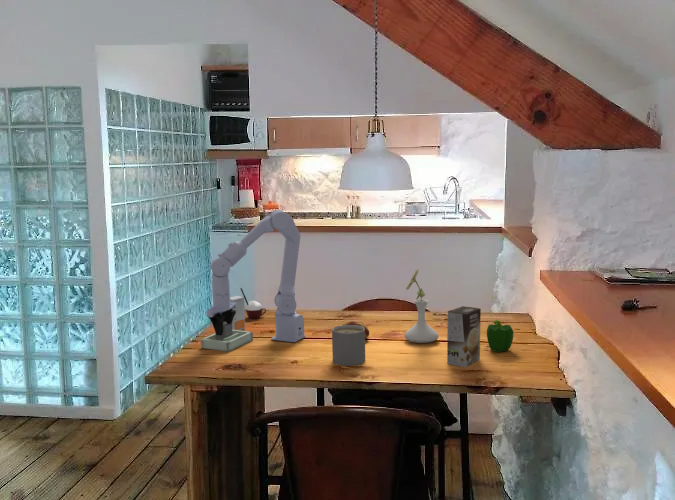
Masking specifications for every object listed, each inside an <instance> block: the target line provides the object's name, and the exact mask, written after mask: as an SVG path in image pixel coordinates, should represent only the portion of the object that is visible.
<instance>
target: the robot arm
mask: <svg viewBox="0 0 675 500" xmlns="http://www.w3.org/2000/svg"><path fill="white" fill-rule="evenodd" d="M274 229H275V230H277V231H278V232H280V234H281V235H282V236H283V238H284V239H285V241H284V242H285V243H284V250H283V257H282V267H281V273H280V274H281V275H280V283H279V286H278V289H277V293H276V295H275V296H274V300H273V301H274V302H273V303H274V305H275V306H276V310H275V311H274V317H275V318H274V319H275V321H274V323H275V325H274V326H275V336H273V337H271V338H270V340H271V341H272V340H273V341H280V342H286V343H287V342H288V343H297V342H298V341H300V340H302V339H304V338H305V337H306V335H305V317H304V315H302V314H299V313H297V310H296V309H297V301H296V290H295V285H296V284H295V283H296V275H297V268H298V259H299V251H300V244H301V233H300V232H299V229H298V227H297V225H296V223H295V221H294V219H293V217H291V216H290V215H289V214H288V213H287V212H285V211H283V210H281V209H275V210H272V211H271V212H270V213H269V214H267V215H266V216H265V217H264V218H262V219H261V220H260V221H259V222H258V223H256V225H255V226H254V227H253V228H252V229H250V231H249V232H248V233H247V234H246V235H245V236H244V237H243V238H242V239H241V240H240V241H236V240H235V241H233V242H229V243H228V245H227V246H228V247H227V248H225V249H224V251H222V253H221V252H220V253H218V254H217V256H218V257H216V258H215V257H214V259H213V260H212V261H211V263H210V266H209V267H210V270H211V271H212V273H211V279H212V280H211V289H212V291H211V292H212V305H210V309H207V310H206V312H205V313H206V318H208V319H209V320H210V321H209V322H211V324H212V326H213V329H214V332H215V333H216V335H222V333H223V322H227V323H229V324H232V321H233V318H234V316H235V314H236V310H232V309H233V308H237V302H230V297H231V290H230V289H231V287H230V278H229V274H230V271H231V267H234V266H235V265H236V264H237V263H238V262H239V261H240V260H242V259H243V258H244V257H245V256H246V255H247V249H248V248H250V246H251V245H252V244H254V243H255V242H256V241H257V240H259V238H260V237H261V236H263V235H264V234H266V233H270V232H274ZM215 333H214V334H215Z"/></svg>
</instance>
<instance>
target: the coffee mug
mask: <svg viewBox="0 0 675 500" xmlns="http://www.w3.org/2000/svg"><path fill="white" fill-rule="evenodd" d="M331 343H332V350H331V351H332V363H333V364H334V365H337V366H343V367H345V366H346V367H353V366H360V365H362V364H364V363H365V362H366V339H365V328H364V327H362V326H358V325H343V324H341V325H337V326H334V327H332V328H331Z"/></svg>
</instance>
